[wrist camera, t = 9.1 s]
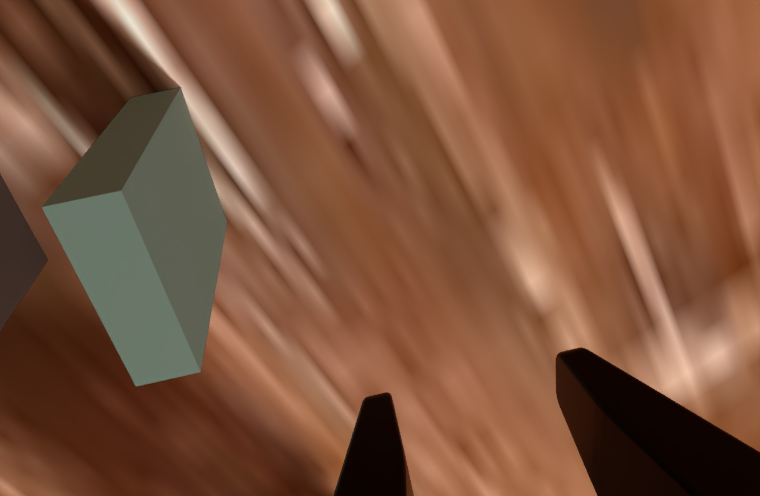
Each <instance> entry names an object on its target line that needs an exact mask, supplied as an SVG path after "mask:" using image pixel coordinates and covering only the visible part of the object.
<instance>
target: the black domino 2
mask: <svg viewBox="0 0 760 496" xmlns="http://www.w3.org/2000/svg"><path fill="white" fill-rule="evenodd" d="M47 261H48V260H47V258H46V256H45V254H44V252H43V251H42V249H41V247H40V245H39V243H38V241H37V240H36V238H35V236H34V234H33V232H32V231H31V229H30V227H29V225H28V223H27V222H26V220H25V218H24V216H23V214H22V213H21V211H20V209H19V207H18V205H17V204H16V202H15V200H14V198H13V196H12V194H11V193H10V191H9V189H8V187H7V185H6V184H5V182H4V180H3V178H2V176H1V175H0V331H1V329H2V328H3V326H4V325H5V323H6V322H7V320H8V319H9V317H10V316H11V314H12V313H13V311H14V310H15V308H16V307H17V306H18V304H19V303H20V301H21V300H22V298H23V297H24V295H25V294H26V292H27V291H28V289H29V288H30V286H31V285H32V283H33V282H34V280H35V279H36V277H37V276H38V274H39V273H40V271H41V270H42V268H43V267H44V265H45V264H46V262H47Z"/></svg>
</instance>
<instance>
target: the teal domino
mask: <svg viewBox="0 0 760 496" xmlns="http://www.w3.org/2000/svg"><path fill="white" fill-rule="evenodd" d="M42 209H43V211H44V213H45V215H46V216H47V218H48V220H49V222H50V224H51V226H52V228H53V230H54V232H55V234H56V235H57V237H58V239H59V241H60V243H61V245H62V247H63V249H64V251H65V253H66V254H67V256H68V258H69V260H70V262H71V264H72V266H73V268H74V270H75V272H76V274H77V275H78V277H79V279H80V281H81V283H82V285H83V287H84V289H85V291H86V293H87V294H88V296H89V298H90V300H91V302H92V304H93V306H94V308H95V310H96V312H97V314H98V315H99V317H100V319H101V321H102V323H103V325H104V327H105V329H106V331H107V333H108V334H109V336H110V338H111V340H112V342H113V344H114V346H115V348H116V350H117V352H118V353H119V355H120V357H121V359H122V361H123V363H124V365H125V367H126V369H127V371H128V373H129V374H130V376H131V378H132V380H133V382H134V384H135V386H136V387H137V386H141V385H146V384H150V383H155V382H159V381H164V380H168V379H172V378H177V377H181V376H186V375H190V374H195V373H199V372H201V367H202V362H203V356H204V350H205V345H206V339H207V333H208V328H209V322H210V316H211V311H212V305H213V299H214V294H215V288H216V282H217V277H218V271H219V265H220V260H221V254H222V248H223V243H224V237H225V231H226V226H227V221H226V218H225V215H224V212H223V209H222V207H221V204H220V201H219V198H218V195H217V192H216V189H215V186H214V183H213V180H212V177H211V174H210V172H209V169H208V166H207V163H206V160H205V157H204V154H203V151H202V148H201V145H200V142H199V139H198V136H197V134H196V131H195V128H194V125H193V122H192V119H191V116H190V113H189V110H188V107H187V104H186V101H185V99H184V96H183V93H182V90H181V87H180V88H175V89H170V90H165V91H160V92H155V93H150V94H145V95H140V96H135V97H131V98H130V99H129V100H128V101H127V103H126V104H125V105H124V106H123V108H122V109H121V110H120V111H119V113H118V114H117V115H116V116H115V117H114V119H113V120H112V121H111V122H110V124H109V125H108V126H107V127H106V129H105V130H104V131H103V132H102V133H101V135H100V136H99V137H98V138H97V140H96V141H95V142H94V143H93V145H92V146H91V147H90V148H89V149H88V151H87V152H86V153H85V154H84V156H83V157H82V158H81V159H80V161H79V162H78V163H77V164H76V165H75V167H74V168H73V169H72V170H71V172H70V173H69V174H68V175H67V177H66V178H65V179H64V180H63V181H62V183H61V184H60V185H59V186H58V188H57V189H56V190H55V191H54V193H53V194H52V195H51V196H50V197H49V199H48V200H47V201H46V202H45V204H44V205H43V206H42Z"/></svg>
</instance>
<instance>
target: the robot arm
mask: <svg viewBox="0 0 760 496" xmlns="http://www.w3.org/2000/svg"><path fill="white" fill-rule="evenodd" d="M556 394H557V399H558V403H559V406H560V408H561V411H562V413H563V415H564V418H565V420H566V423H567V425H568V427H569V430H570V432H571V434H572V437H573V439H574V442H575V444H576V446H577V449H578V451H579V454H580V456H581V458H582V461H583V463H584V465H585V468H586V470H587V473H588V475H589V477H590V480H591V482H592V484H593V487H594V489H595V491H596V493H597V496H760V452H759V451H757V450H755V449H754V448H752V447H750V446H749V445H747V444H745V443H743V442H742V441H740V440H738V439H737V438H735V437H733V436H732V435H730V434H728V433H727V432H725V431H723V430H722V429H720V428H718V427H717V426H715V425H713V424H712V423H710V422H708V421H707V420H705V419H703V418H702V417H700V416H698V415H697V414H695V413H693V412H691V411H690V410H688V409H686V408H685V407H683V406H681V405H680V404H678V403H676V402H675V401H673V400H671V399H670V398H668V397H666V396H665V395H663V394H661V393H660V392H658V391H656V390H655V389H653V388H651V387H650V386H648V385H646V384H645V383H643V382H641V381H639V380H638V379H636V378H634V377H633V376H631V375H629V374H628V373H626V372H624V371H623V370H621V369H619V368H618V367H616V366H614V365H613V364H611V363H609V362H608V361H606V360H604V359H603V358H601V357H599V356H598V355H596V354H594V353H593V352H591V351H589V350H587V349H585V348H576V349H572V350H567V351H563V352H560V353H558V355H557V357H556ZM334 496H414V494H413V490H412V485H411V480H410V476H409V471H408V467H407V462H406V457H405V453H404V448H403V444H402V439H401V435H400V431H399V426H398V422H397V418H396V413H395V409H394V404H393V400H392V396H391V394H390V393H382V394H377V395H373V396H369V397H366V398H365V399H364V400H363V402H362V405H361V408H360V412H359V415H358V418H357V421H356V425H355V428H354V431H353V434H352V438H351V441H350V444H349V447H348V450H347V454H346V457H345V460H344V463H343V467H342V470H341V473H340V476H339V480H338V483H337V486H336V489H335V492H334Z"/></svg>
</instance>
